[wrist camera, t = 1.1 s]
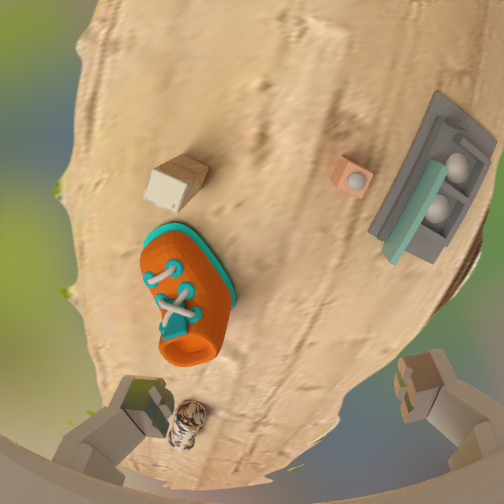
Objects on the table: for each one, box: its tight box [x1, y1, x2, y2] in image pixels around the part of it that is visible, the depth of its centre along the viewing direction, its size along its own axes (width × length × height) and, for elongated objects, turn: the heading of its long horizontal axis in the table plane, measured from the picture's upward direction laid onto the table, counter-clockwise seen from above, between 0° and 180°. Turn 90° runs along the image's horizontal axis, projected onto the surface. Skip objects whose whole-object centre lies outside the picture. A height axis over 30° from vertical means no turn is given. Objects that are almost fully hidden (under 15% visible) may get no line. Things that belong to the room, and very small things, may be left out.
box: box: [143, 154, 210, 214], centre depth 39 cm, size 5×4×11 cm
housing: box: [368, 91, 497, 264], centre depth 38 cm, size 26×15×6 cm, turn 159°
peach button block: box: [330, 156, 374, 199], centre depth 39 cm, size 4×4×6 cm
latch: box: [382, 159, 449, 265], centre depth 40 cm, size 17×1×4 cm, turn 159°
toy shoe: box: [140, 223, 236, 367], centre depth 46 cm, size 12×20×15 cm, turn 29°
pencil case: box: [168, 400, 206, 452], centre depth 73 cm, size 22×8×10 cm, turn 162°
